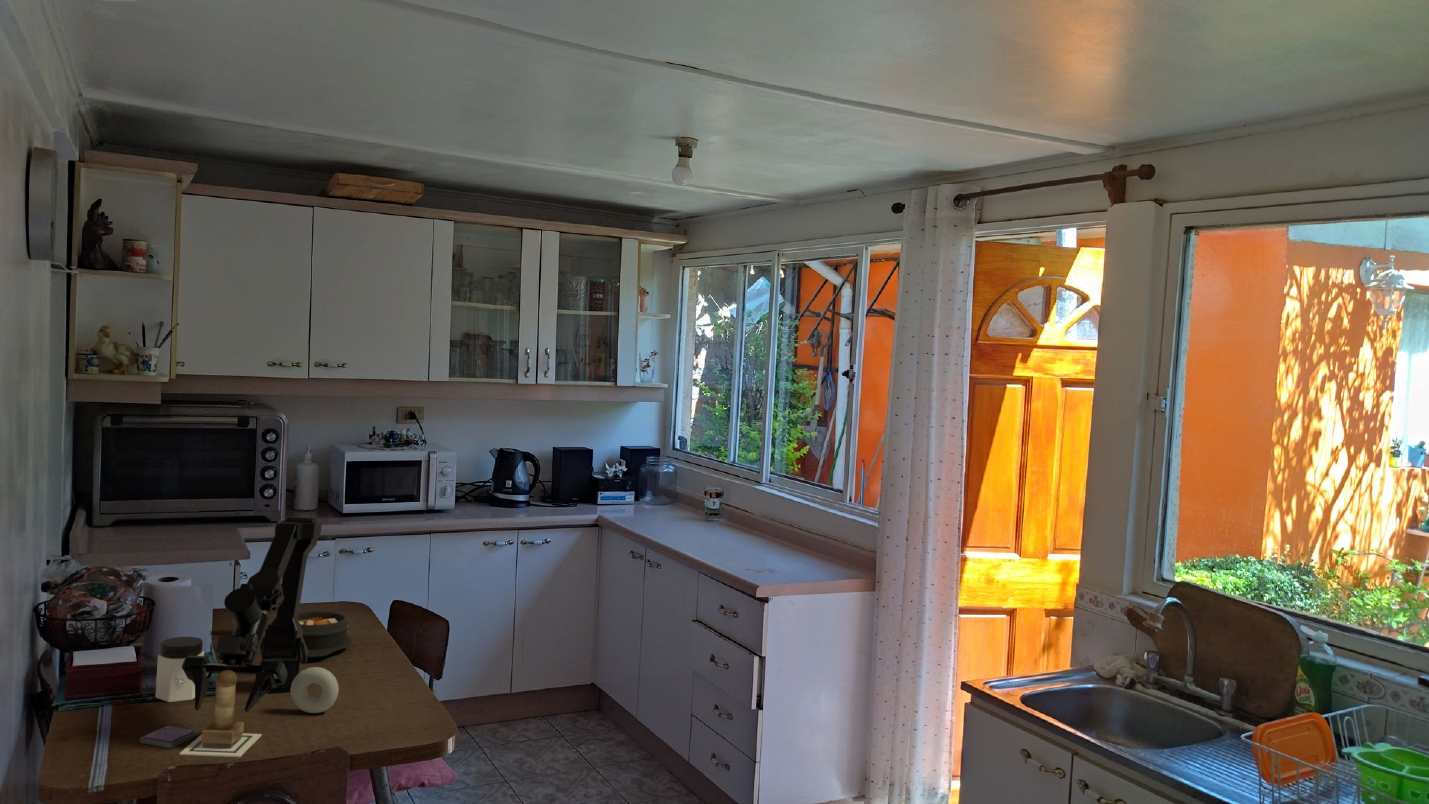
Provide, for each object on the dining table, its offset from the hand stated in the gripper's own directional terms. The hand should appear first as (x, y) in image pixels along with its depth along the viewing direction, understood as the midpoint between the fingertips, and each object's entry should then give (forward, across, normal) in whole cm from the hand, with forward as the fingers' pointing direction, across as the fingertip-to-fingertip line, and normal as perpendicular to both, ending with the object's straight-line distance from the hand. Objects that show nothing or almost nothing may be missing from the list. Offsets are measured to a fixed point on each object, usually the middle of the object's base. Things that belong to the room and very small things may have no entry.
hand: (221, 710), depth 189 cm
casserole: (-41, -2, +52) cm, 66 cm away
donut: (-9, +11, +20) cm, 25 cm away
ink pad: (+3, -11, +7) cm, 13 cm away
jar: (-14, -20, +25) cm, 34 cm away
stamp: (+4, 0, +6) cm, 7 cm away
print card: (+4, 0, +6) cm, 7 cm away
